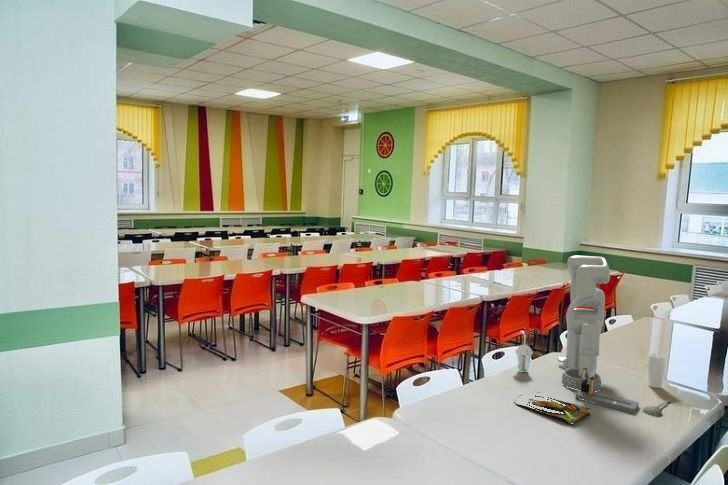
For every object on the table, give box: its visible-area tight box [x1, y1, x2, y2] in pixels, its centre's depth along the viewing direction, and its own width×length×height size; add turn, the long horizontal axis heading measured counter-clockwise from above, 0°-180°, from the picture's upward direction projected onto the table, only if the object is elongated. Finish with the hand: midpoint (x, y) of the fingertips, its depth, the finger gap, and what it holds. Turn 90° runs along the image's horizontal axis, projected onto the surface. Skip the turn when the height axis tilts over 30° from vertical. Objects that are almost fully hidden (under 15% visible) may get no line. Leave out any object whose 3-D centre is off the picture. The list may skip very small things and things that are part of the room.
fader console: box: [575, 390, 640, 414], centre depth 215 cm, size 23×9×2 cm, turn 50°
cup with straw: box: [514, 330, 534, 372], centre depth 252 cm, size 8×9×20 cm
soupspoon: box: [642, 398, 673, 418], centre depth 210 cm, size 22×3×7 cm
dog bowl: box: [561, 369, 602, 392], centre depth 236 cm, size 17×18×5 cm
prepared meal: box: [518, 391, 591, 425], centre depth 208 cm, size 28×4×18 cm
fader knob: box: [582, 378, 594, 395], centre depth 220 cm, size 4×3×6 cm
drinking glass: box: [647, 352, 666, 389], centre depth 233 cm, size 7×7×15 cm
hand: (587, 389), depth 220 cm, fingers open, 6 cm apart
